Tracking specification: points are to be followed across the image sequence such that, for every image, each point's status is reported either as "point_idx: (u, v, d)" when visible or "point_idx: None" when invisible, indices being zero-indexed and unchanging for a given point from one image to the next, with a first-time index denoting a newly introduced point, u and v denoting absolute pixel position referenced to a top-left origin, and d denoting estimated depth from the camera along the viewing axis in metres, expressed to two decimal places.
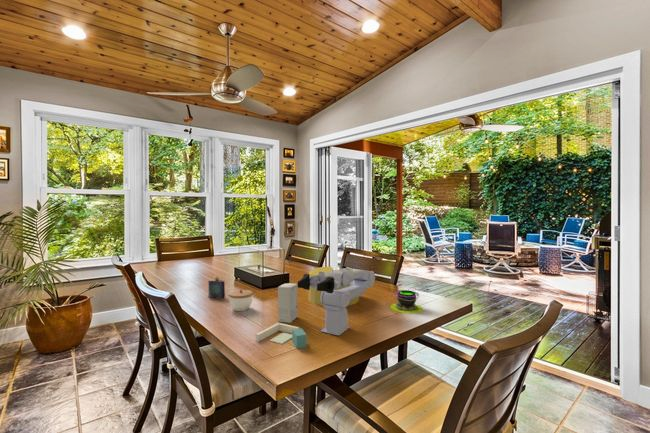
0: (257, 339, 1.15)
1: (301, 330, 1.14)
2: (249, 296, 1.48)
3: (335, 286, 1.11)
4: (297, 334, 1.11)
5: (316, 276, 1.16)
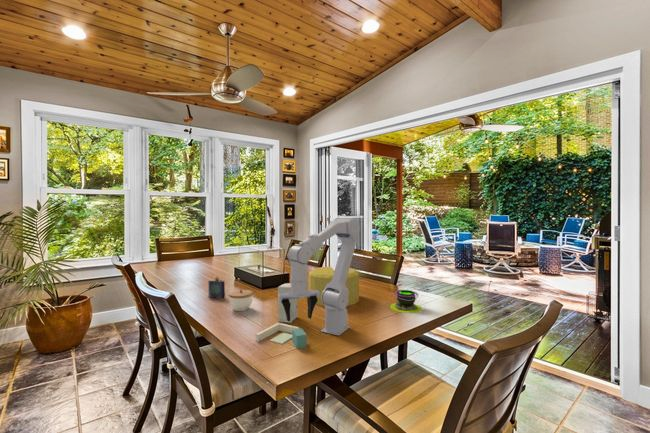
0: (257, 339, 1.15)
1: (301, 330, 1.14)
2: (249, 296, 1.48)
3: None
4: (297, 334, 1.11)
5: None
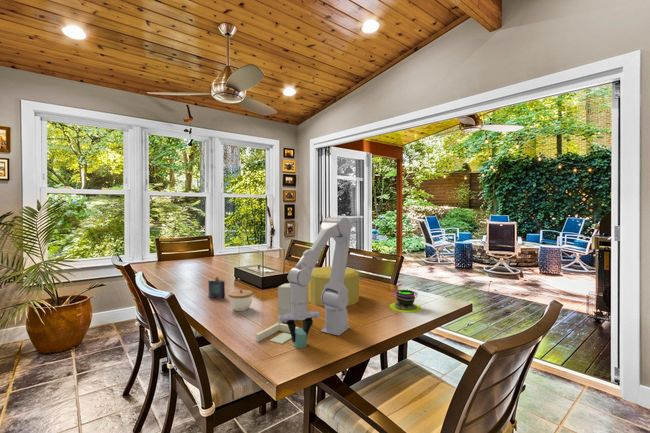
0: (257, 339, 1.15)
1: (301, 330, 1.14)
2: (249, 296, 1.48)
3: None
4: (297, 334, 1.11)
5: None
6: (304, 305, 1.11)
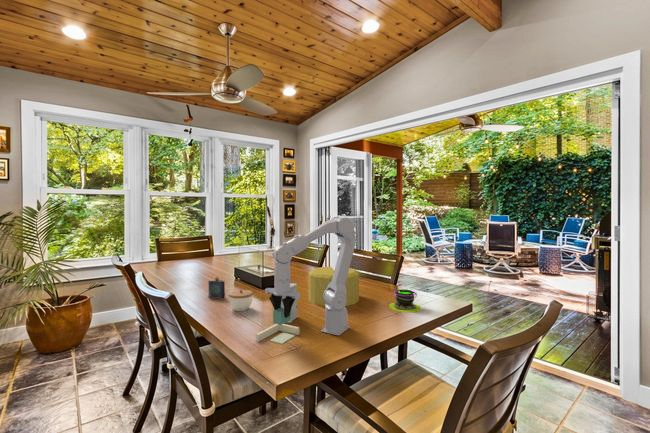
0: (257, 339, 1.15)
1: None
2: (249, 296, 1.48)
3: None
4: (276, 310, 1.16)
5: None
6: (280, 282, 1.14)
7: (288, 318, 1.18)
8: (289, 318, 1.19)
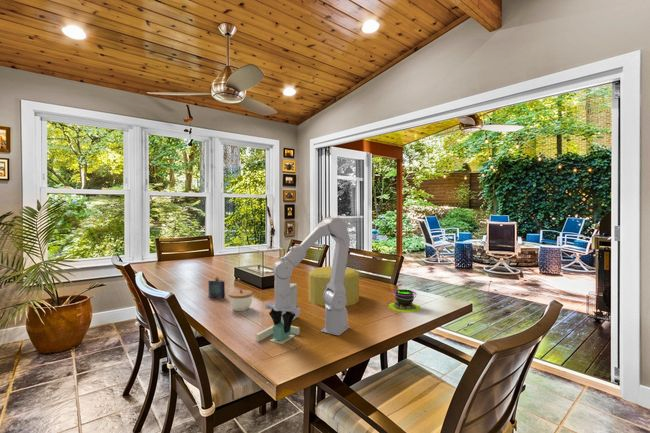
0: (257, 339, 1.15)
1: None
2: (249, 296, 1.48)
3: None
4: (276, 325, 1.17)
5: None
6: (280, 298, 1.15)
7: (288, 333, 1.18)
8: (289, 333, 1.19)
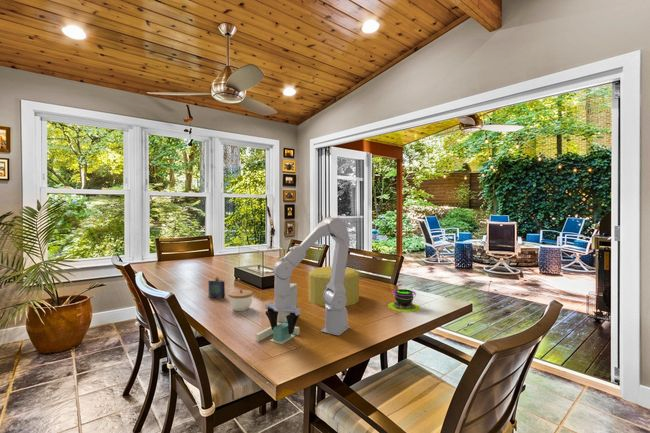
0: (257, 339, 1.15)
1: (286, 325, 1.18)
2: (249, 296, 1.48)
3: None
4: (276, 326, 1.17)
5: None
6: (280, 298, 1.15)
7: (288, 334, 1.18)
8: (289, 334, 1.19)
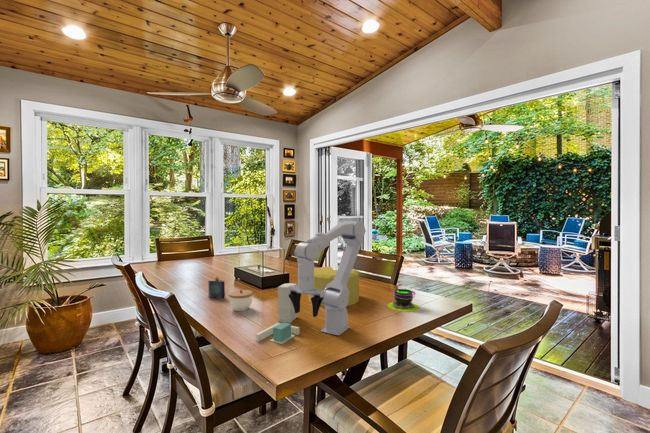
0: (257, 339, 1.15)
1: (286, 325, 1.18)
2: (249, 296, 1.48)
3: None
4: (276, 326, 1.17)
5: None
6: (305, 280, 1.12)
7: (288, 334, 1.18)
8: (289, 334, 1.19)
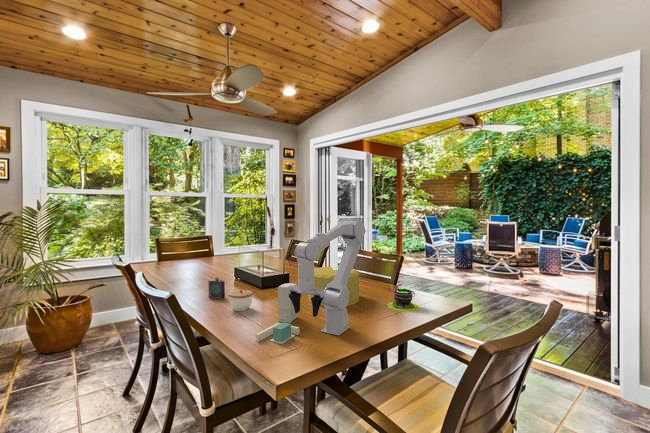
0: (257, 339, 1.15)
1: (286, 325, 1.18)
2: (249, 296, 1.48)
3: None
4: (276, 326, 1.17)
5: None
6: (305, 280, 1.12)
7: (288, 334, 1.18)
8: (289, 334, 1.19)
